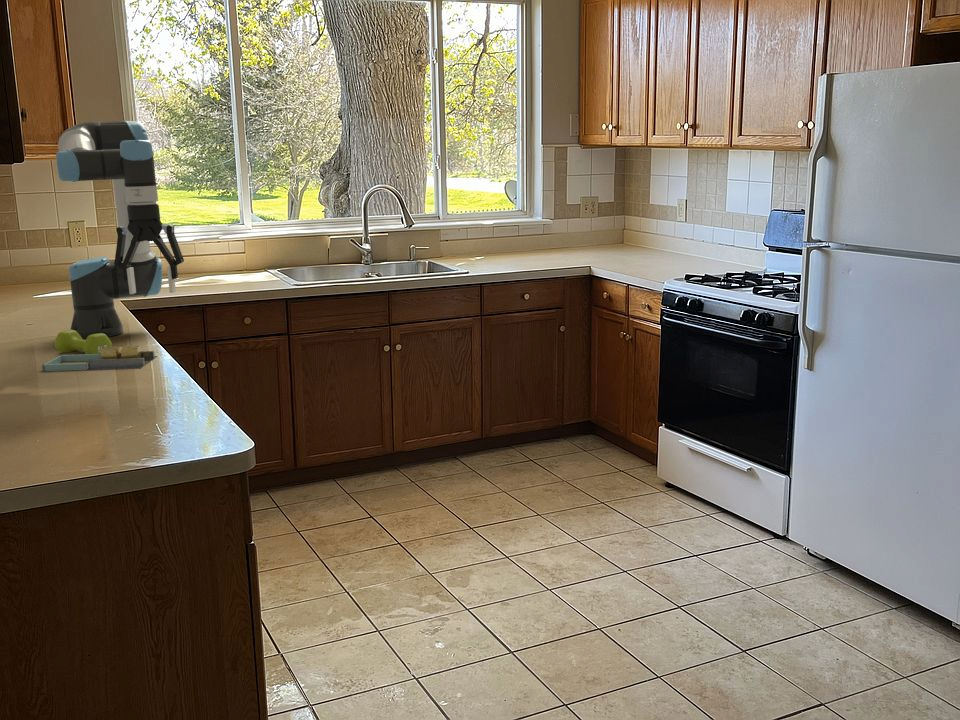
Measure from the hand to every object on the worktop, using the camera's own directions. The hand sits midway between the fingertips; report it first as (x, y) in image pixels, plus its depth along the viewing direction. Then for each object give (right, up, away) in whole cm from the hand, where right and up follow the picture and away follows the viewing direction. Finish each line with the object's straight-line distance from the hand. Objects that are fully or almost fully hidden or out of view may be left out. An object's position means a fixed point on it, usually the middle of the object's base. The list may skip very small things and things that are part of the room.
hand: (152, 292), depth 235 cm
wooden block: (-12, -18, +4) cm, 22 cm away
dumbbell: (-26, -17, +20) cm, 36 cm away
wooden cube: (-7, -18, +4) cm, 20 cm away
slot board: (-9, -19, +4) cm, 22 cm away
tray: (-22, -20, +4) cm, 30 cm away
